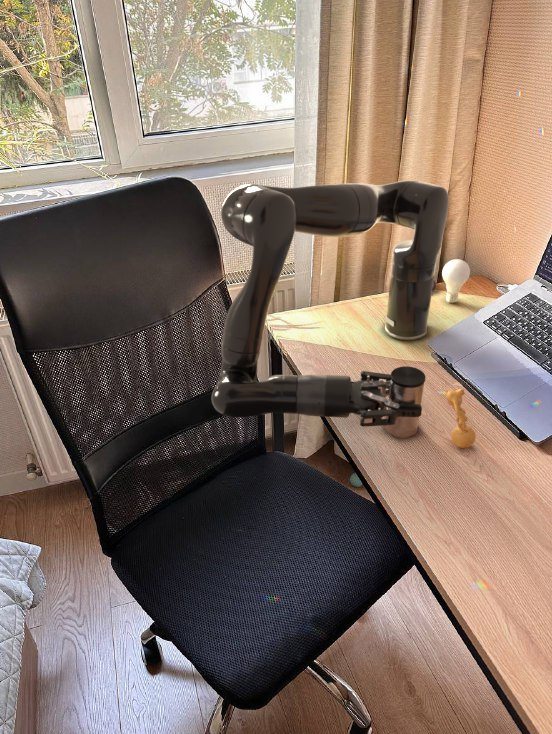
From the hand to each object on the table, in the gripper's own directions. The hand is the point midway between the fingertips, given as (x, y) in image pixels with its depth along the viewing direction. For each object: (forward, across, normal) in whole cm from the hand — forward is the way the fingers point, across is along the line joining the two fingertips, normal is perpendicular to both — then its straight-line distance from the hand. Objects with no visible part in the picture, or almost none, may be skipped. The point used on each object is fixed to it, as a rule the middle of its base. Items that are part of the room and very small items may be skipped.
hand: (419, 400), depth 103 cm
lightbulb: (+12, +51, +7) cm, 53 cm away
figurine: (+7, -4, +7) cm, 10 cm away
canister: (-3, 0, +6) cm, 7 cm away
